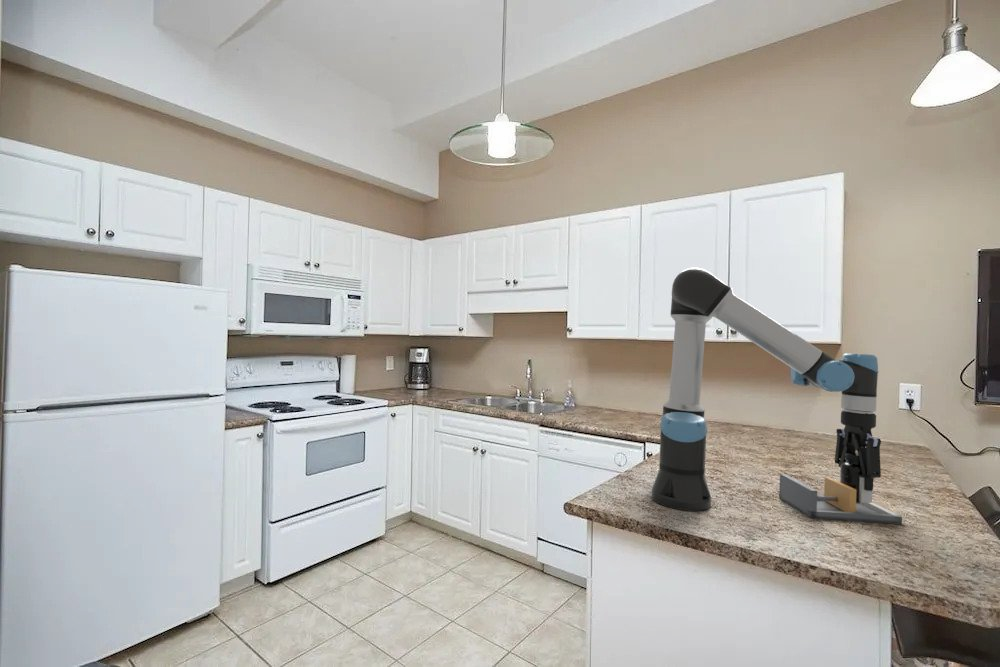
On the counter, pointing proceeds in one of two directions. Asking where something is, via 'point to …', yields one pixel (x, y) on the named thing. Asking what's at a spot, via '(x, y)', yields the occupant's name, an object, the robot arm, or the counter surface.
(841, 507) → the pusher
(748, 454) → the counter surface
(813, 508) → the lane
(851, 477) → the supplement bottle
